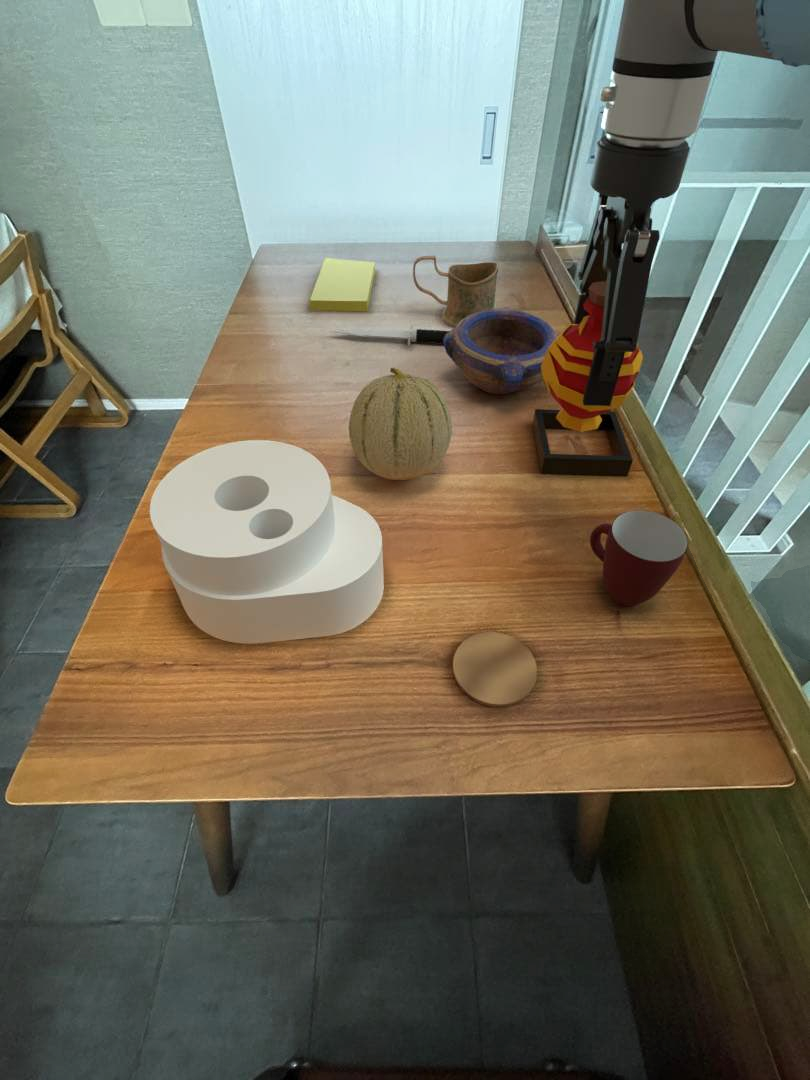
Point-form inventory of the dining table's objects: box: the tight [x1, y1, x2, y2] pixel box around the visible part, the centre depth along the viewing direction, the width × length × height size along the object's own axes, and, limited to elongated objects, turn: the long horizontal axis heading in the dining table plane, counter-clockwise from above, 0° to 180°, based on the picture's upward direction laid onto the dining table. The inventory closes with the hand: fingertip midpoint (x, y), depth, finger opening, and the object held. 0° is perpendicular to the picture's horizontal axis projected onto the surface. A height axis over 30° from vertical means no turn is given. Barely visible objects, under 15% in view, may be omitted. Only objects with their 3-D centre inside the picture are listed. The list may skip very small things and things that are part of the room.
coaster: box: [452, 631, 538, 708], centre depth 63 cm, size 9×9×1 cm
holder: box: [532, 408, 633, 477], centre depth 89 cm, size 13×13×3 cm
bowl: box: [443, 306, 559, 395], centre depth 101 cm, size 18×18×10 cm
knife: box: [329, 324, 450, 347], centre depth 115 cm, size 26×2×5 cm
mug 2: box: [589, 509, 689, 607], centre depth 67 cm, size 11×8×10 cm
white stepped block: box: [149, 439, 385, 645], centre depth 67 cm, size 20×25×14 cm
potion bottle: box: [541, 281, 644, 433], centre depth 63 cm, size 10×10×15 cm
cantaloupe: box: [348, 367, 453, 481], centre depth 82 cm, size 15×15×15 cm
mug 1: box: [412, 255, 499, 328], centre depth 118 cm, size 12×18×12 cm, turn 88°
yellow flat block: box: [309, 257, 376, 312], centre depth 132 cm, size 12×2×24 cm
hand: (587, 376), depth 65 cm, fingers closed on potion bottle, 10 cm apart
